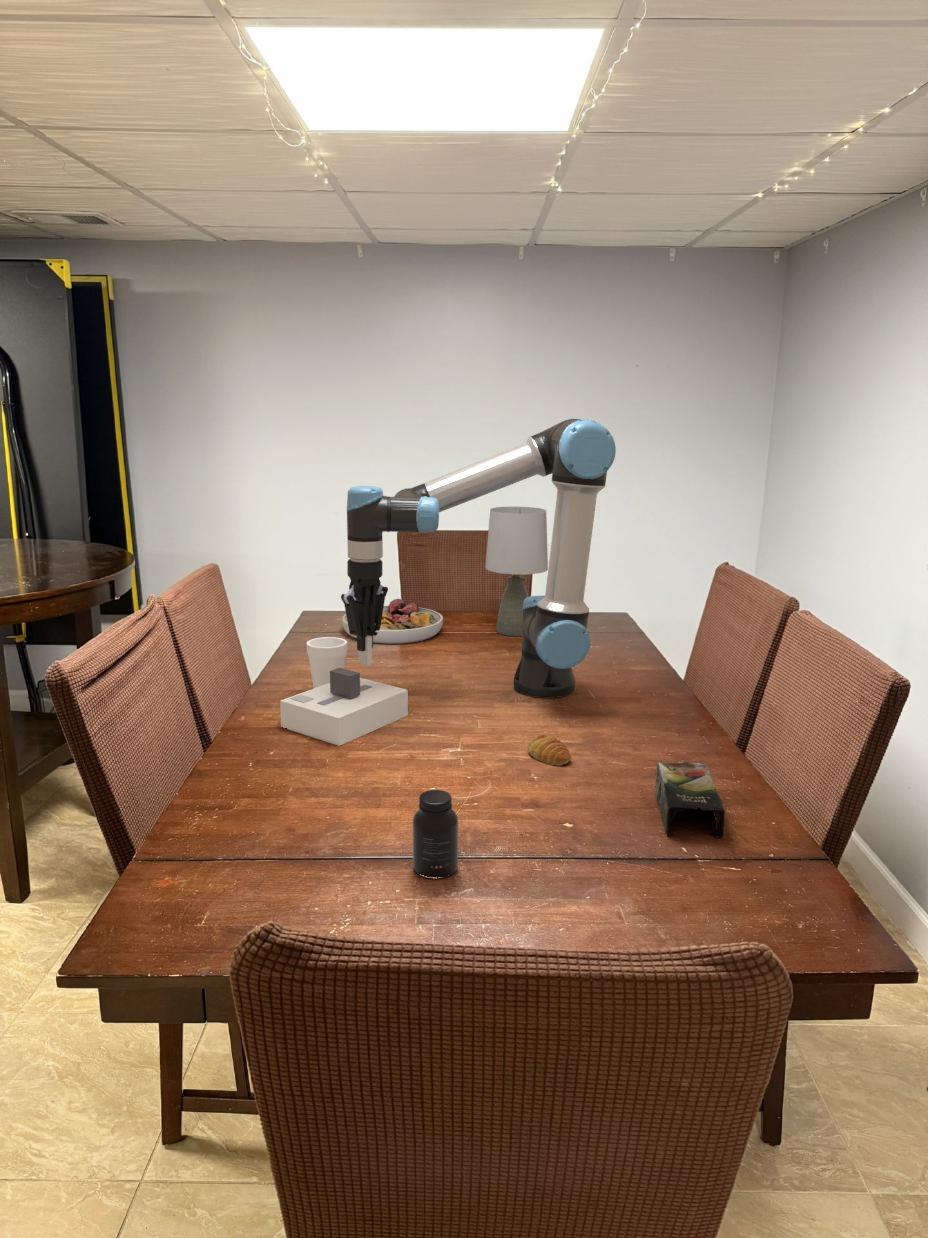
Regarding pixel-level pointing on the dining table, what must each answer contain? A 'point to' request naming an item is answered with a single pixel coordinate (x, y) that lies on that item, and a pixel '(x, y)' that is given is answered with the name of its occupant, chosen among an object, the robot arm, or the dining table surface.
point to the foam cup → (325, 658)
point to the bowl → (404, 623)
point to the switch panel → (343, 711)
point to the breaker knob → (345, 682)
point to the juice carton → (687, 792)
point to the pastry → (548, 750)
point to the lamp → (516, 558)
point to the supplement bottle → (435, 835)
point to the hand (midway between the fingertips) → (365, 663)
